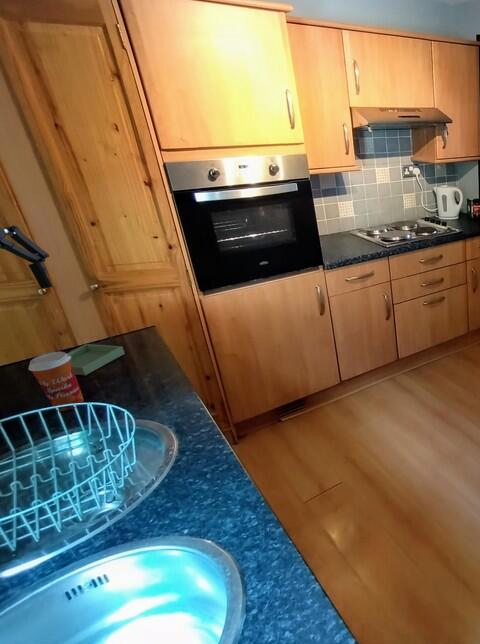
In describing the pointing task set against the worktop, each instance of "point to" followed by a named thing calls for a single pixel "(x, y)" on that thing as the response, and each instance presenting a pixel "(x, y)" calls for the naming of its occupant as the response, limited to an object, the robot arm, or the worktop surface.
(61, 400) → the paper cup
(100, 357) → the tray
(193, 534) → the worktop surface
